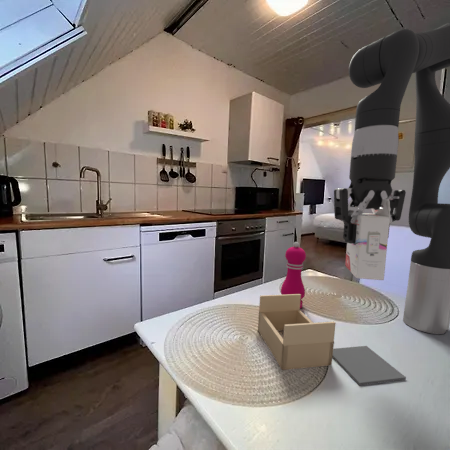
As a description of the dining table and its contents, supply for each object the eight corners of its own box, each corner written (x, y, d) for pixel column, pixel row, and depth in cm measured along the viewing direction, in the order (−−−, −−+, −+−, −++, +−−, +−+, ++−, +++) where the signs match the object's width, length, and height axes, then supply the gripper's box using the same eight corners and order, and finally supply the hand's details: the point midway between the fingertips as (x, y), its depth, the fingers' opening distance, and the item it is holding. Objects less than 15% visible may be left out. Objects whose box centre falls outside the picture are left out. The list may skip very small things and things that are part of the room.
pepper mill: (275, 301, 80) (279, 239, 78) (295, 299, 82) (299, 239, 80) (287, 311, 73) (292, 244, 71) (308, 309, 76) (314, 244, 73)
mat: (366, 347, 57) (366, 345, 57) (405, 379, 47) (406, 377, 47) (326, 351, 55) (326, 349, 55) (359, 385, 45) (359, 382, 45)
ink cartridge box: (343, 266, 54) (349, 198, 53) (368, 268, 53) (375, 198, 52) (355, 278, 46) (362, 198, 44) (385, 281, 45) (393, 199, 43)
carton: (297, 327, 65) (299, 293, 64) (331, 365, 50) (335, 322, 49) (257, 330, 62) (260, 295, 61) (282, 370, 48) (285, 326, 47)
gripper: (389, 159, 52) (381, 238, 54) (326, 156, 49) (321, 239, 51) (424, 153, 45) (413, 245, 47) (352, 149, 42) (344, 247, 44)
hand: (365, 242), depth 49 cm, fingers closed on ink cartridge box, 6 cm apart
